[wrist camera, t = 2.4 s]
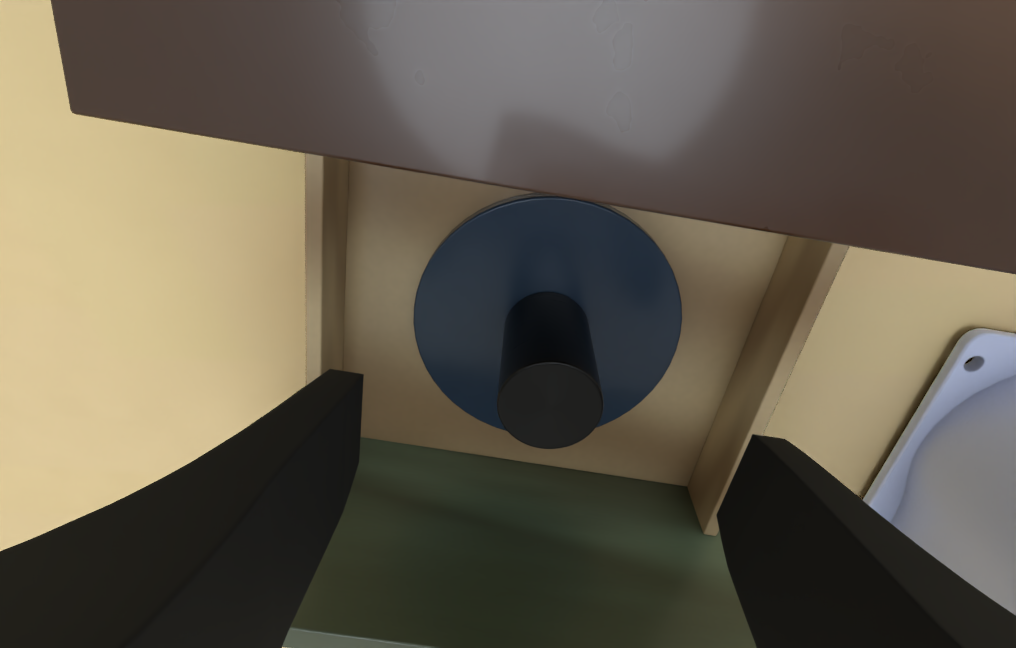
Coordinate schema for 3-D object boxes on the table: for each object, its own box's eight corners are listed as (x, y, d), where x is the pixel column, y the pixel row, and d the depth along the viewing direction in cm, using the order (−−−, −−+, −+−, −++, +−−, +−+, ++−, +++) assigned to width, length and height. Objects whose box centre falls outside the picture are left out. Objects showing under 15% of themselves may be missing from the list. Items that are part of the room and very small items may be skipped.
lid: (638, 442, 17) (667, 550, 13) (406, 407, 17) (371, 507, 13) (714, 217, 14) (779, 280, 10) (429, 169, 13) (392, 215, 10)
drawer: (687, 569, 20) (756, 803, 14) (299, 512, 20) (191, 730, 14) (950, -24, 12) (1406, -94, 6) (292, -150, 11) (3, -375, 5)
